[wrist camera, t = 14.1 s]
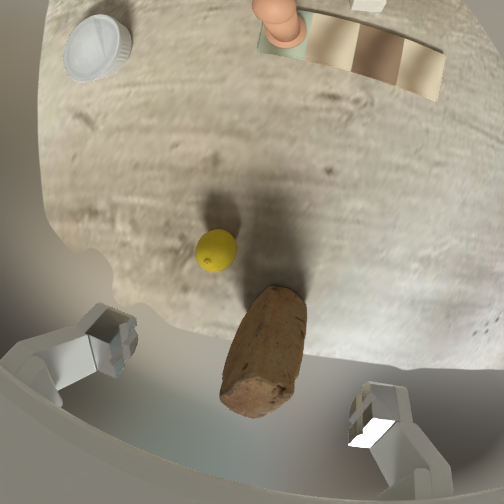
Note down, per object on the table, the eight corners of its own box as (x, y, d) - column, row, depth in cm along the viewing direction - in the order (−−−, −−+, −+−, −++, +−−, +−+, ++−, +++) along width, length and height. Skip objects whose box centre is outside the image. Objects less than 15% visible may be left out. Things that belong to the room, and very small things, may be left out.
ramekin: (151, 35, 35) (132, 29, 30) (113, 95, 40) (92, 95, 35) (107, 10, 33) (87, 4, 29) (74, 65, 38) (53, 65, 34)
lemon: (243, 256, 47) (229, 283, 40) (208, 254, 49) (189, 279, 41) (241, 222, 45) (226, 244, 38) (205, 220, 46) (184, 242, 39)
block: (277, 273, 47) (250, 369, 30) (314, 301, 48) (304, 402, 31) (237, 313, 53) (199, 405, 35) (271, 337, 53) (246, 432, 36)
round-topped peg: (309, 17, 30) (304, -20, 19) (302, 52, 32) (294, 26, 21) (269, 11, 30) (248, -26, 19) (262, 45, 33) (237, 19, 22)
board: (443, 56, 28) (445, 55, 28) (435, 101, 31) (437, 101, 31) (268, 7, 31) (267, 5, 30) (258, 52, 34) (257, 51, 33)
